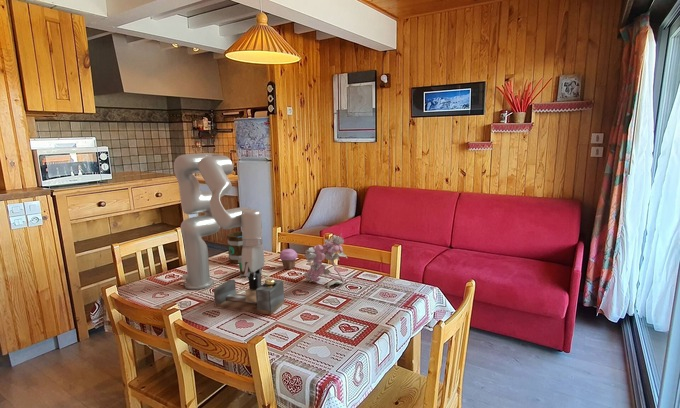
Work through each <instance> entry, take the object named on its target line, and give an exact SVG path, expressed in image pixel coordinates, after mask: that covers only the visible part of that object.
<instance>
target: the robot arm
mask: <svg viewBox="0 0 680 408" xmlns="http://www.w3.org/2000/svg"><path fill="white" fill-rule="evenodd" d="M173 170H174V171H173V172H174V175H175V177H176V180H177V183H178V184H177V185H178V188H179V190H178V191H179V197H180V205H181V210H182V211H183V214H185V215H196V214H202V213H204V215H196V216H193V217H189V218H186V219H184V220H182V222H181V223H180V232H181V237H182V240H183V244H184V252H185V263H186V273H183V275H182V277H181V280H184V281H185V282H184V287H185V289H187V290H192V291H193V290H202V289H206V288H209V287H211V286H213V284H214V281H215V280H214V279H213V278H212V277H211V274H210V263H209V251H208V245H207V244H206V242H205V240H204V239H203V237H208V236H211V235H215V234H217V233H218V232H219V231H220V230H221V229H223V230H226V231H227V230H232V229H237V228H241V231H242V239H243V248H242V272H245V274H244V276H246V278H247V279H248V289H249V288H251V289H257V279H255V278H256V276H255V273H261V275H262V274H263V273H262V271H263V268H264V266H265V253H264V252H265V250H264V246H263V244H264V243H263V226H262V214H261V211H260V210H258V209H252V208H249V207H246V206H241V207H235V208H230V209H229V208H228V209H225V207H224V206H223V204H222V202H221V198H222V197H224V196H226V194H228V193H229V192H230V191H231V189H232V187H233V185H232V183H231V180H230V179H229V175H231V174H232V173H233V171H234V164H233V162H232V160H231V158H230V157H228V156H227V155H224V154H223V155H222V154H218V153H212V152H211V153H210V152H209V153H207V152H205V153H204V152H203V153H186V154H181V155H178V156H177V157H176V158H175V160H174V161H173ZM194 174H200V175H201V176H202V179H203V180H204V182H205V183H206V186H208V189H209V190H205V191H201V187H200V182H199V179H198V178H197V177H196V176H195V175H194ZM250 270H251V271H250ZM250 273H253V275H252V274H250Z"/></svg>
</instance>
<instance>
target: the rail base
mask: <svg viewBox="0 0 680 408" xmlns="http://www.w3.org/2000/svg"><path fill="white" fill-rule="evenodd" d="M274 282H275V284H274V285H273V287H267V286H266V285H265V282H264V283H263V284H261V286H260V287H259V288H257V289H256V300H257V302H250V301H246V295H245V294H243V293H241V294H240V293H237V287H236V280H235V279H229V280H227V281H225V282H224V283H222V284H220V285H218V286H217V287H215V288H213V296H214V297H213V299H214V307H215V308H217V309H218V308H219V309H226V310H232V311H233V310H234V311H240V312H241V311H242V312H248V313H256V314H260V315H261V314H262V315H271V316H272V315H273V314H274V313H275V312H277V310H278V309H280V308H281V307H282V306H283V305H284V304H285V290H284V289H285V288H284V287H285V286H284V280H281V279H274Z"/></svg>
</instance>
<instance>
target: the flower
mask: <svg viewBox="0 0 680 408" xmlns="http://www.w3.org/2000/svg"><path fill="white" fill-rule="evenodd" d="M342 234H343V233H340V236H339V235H336V234H334V235H332V236H331V237H330V238H328V239H326V238H325V239H324V244H323V245H321V244H317V245H314V247H313V246H312V247H309V248H308V249H305V254H302V256H303V257H305V261H306V262H307V263H311V264H310V265H309V266H310V268H309V269H308V272H305V273H304V274H303V276H304V277H305V278H304V280H305V281H308V282H309V283H311V282H312V281H313V282H319V281H320V280H321V277H319V276H320V275H321V276H322V275H324V276H325V277H326V276H329V277H332V278H334V279H337V280H335V281H334V280H333V281H329V282H327V285H326V286H327V289H328V290H329V289H330V286H332V285H335V284H344V283H345V284H348V281H345V280H344V277H343V276H342V274H341V273H340V271H339V268H338V267H337V265H336V263H335V262H334V261H335V260H338V261H340V258H339V257H341V258H346V259H348V257H347V255H346V253H344V250H343V249H344V248H343V246H342V245H343V244H344V243H345V239H344V237H342ZM324 260H327V261H330V262H331V264H332V265H333V267H334V269H335V271H336V273H337V274H338V276H337V275H335V274H332V271H330V269H328V268H327V266H328V264H323V261H324Z"/></svg>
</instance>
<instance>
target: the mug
mask: <svg viewBox="0 0 680 408" xmlns="http://www.w3.org/2000/svg"><path fill="white" fill-rule="evenodd" d="M226 239H227V251H228V252H227V253H228V263H231V265H237V264H239V263H238V258H242V248H243V239H242V230H241V231H234V232H230V233H227V234H226Z"/></svg>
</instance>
